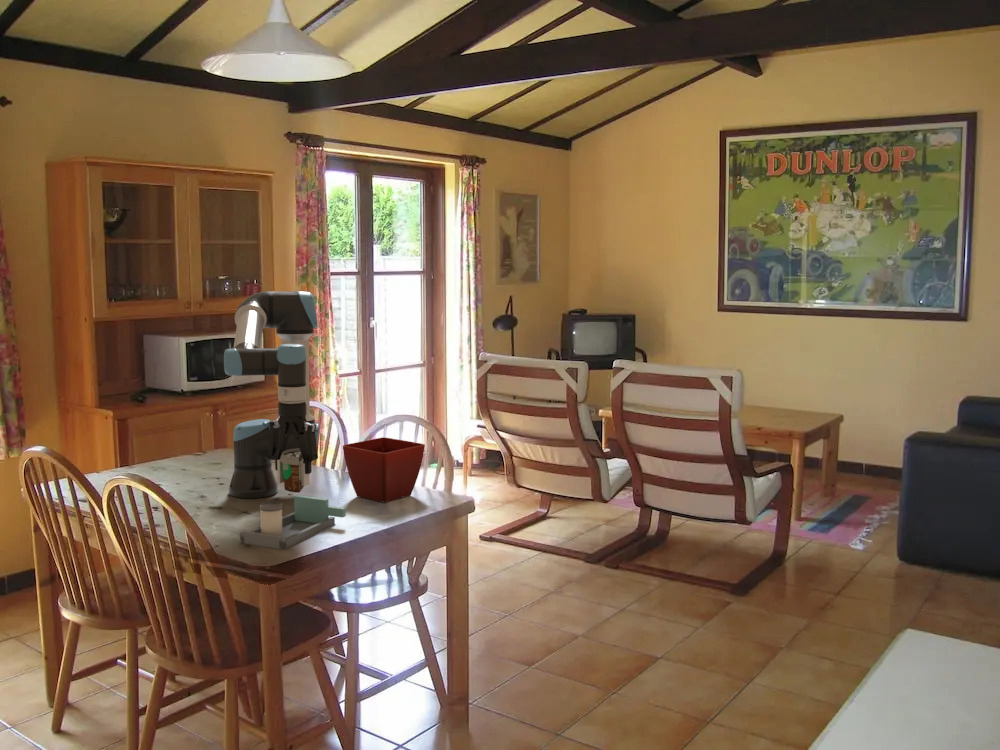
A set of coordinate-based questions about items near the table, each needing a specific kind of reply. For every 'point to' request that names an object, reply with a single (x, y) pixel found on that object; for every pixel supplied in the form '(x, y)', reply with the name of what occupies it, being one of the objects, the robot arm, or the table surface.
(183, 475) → the table surface
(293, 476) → the food container
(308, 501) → the pusher
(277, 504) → the jar
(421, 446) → the plant pot
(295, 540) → the grey tray
